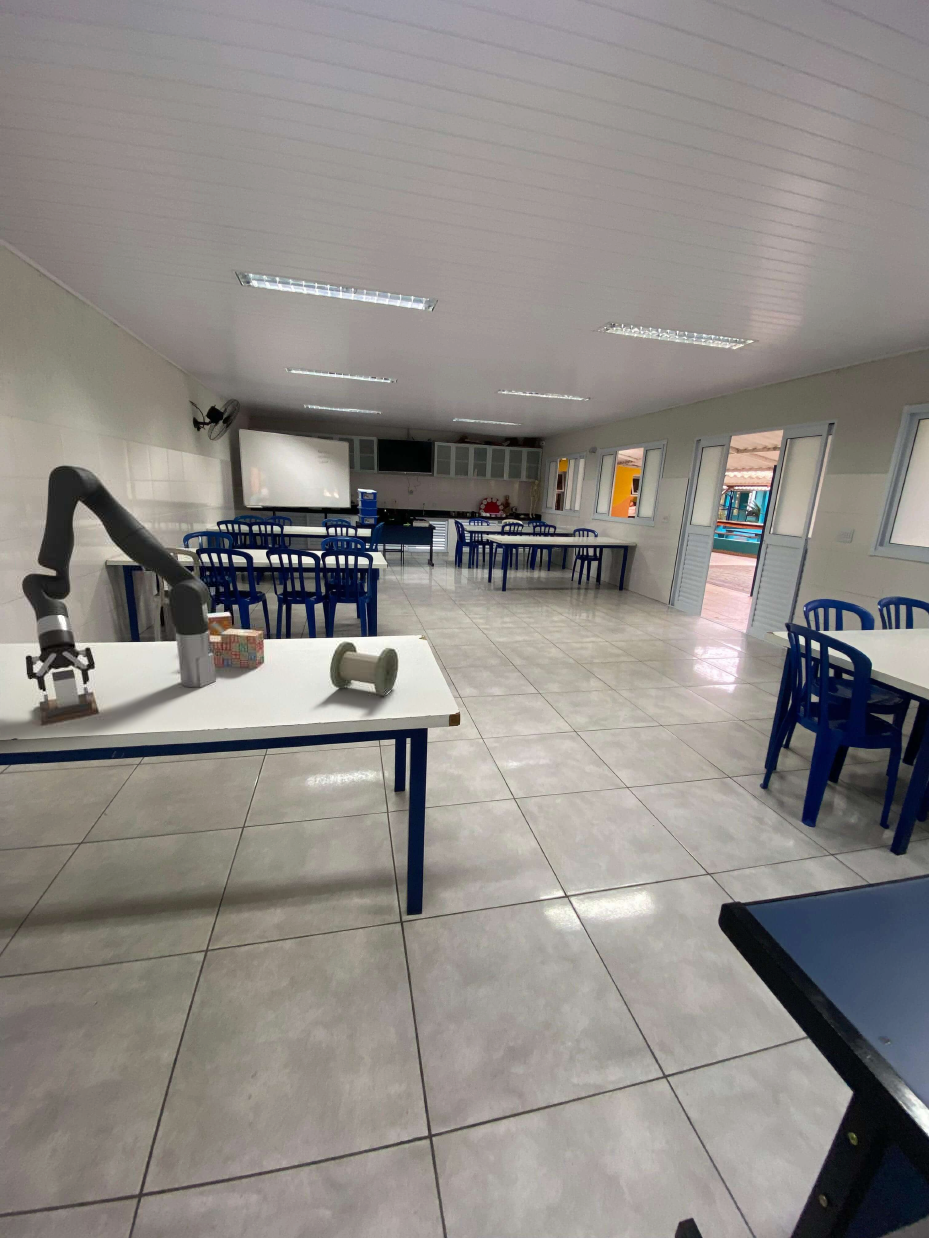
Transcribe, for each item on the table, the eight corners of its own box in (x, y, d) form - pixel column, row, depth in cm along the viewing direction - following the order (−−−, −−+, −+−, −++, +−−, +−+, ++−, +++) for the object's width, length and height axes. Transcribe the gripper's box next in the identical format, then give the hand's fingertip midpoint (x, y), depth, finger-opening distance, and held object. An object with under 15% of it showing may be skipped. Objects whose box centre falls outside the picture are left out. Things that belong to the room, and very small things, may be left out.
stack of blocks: (197, 665, 170) (194, 631, 167) (207, 659, 176) (204, 626, 173) (257, 668, 170) (255, 635, 166) (265, 662, 176) (263, 630, 172)
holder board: (98, 713, 133) (97, 702, 132) (41, 725, 125) (39, 714, 124) (93, 695, 143) (91, 685, 142) (40, 705, 135) (37, 695, 134)
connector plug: (78, 702, 135) (72, 669, 133) (80, 708, 132) (74, 674, 130) (57, 706, 133) (51, 672, 130) (59, 712, 129) (52, 677, 127)
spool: (397, 685, 162) (398, 642, 159) (378, 703, 148) (378, 657, 145) (353, 677, 167) (353, 636, 163) (330, 694, 153) (329, 649, 149)
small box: (210, 650, 185) (207, 617, 181) (208, 645, 190) (205, 613, 186) (233, 647, 189) (231, 615, 186) (231, 642, 194) (228, 611, 191)
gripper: (19, 632, 128) (28, 686, 122) (87, 624, 137) (97, 675, 132) (23, 646, 133) (31, 698, 128) (88, 637, 142) (98, 686, 137)
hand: (65, 686), depth 130 cm, fingers open, 8 cm apart
